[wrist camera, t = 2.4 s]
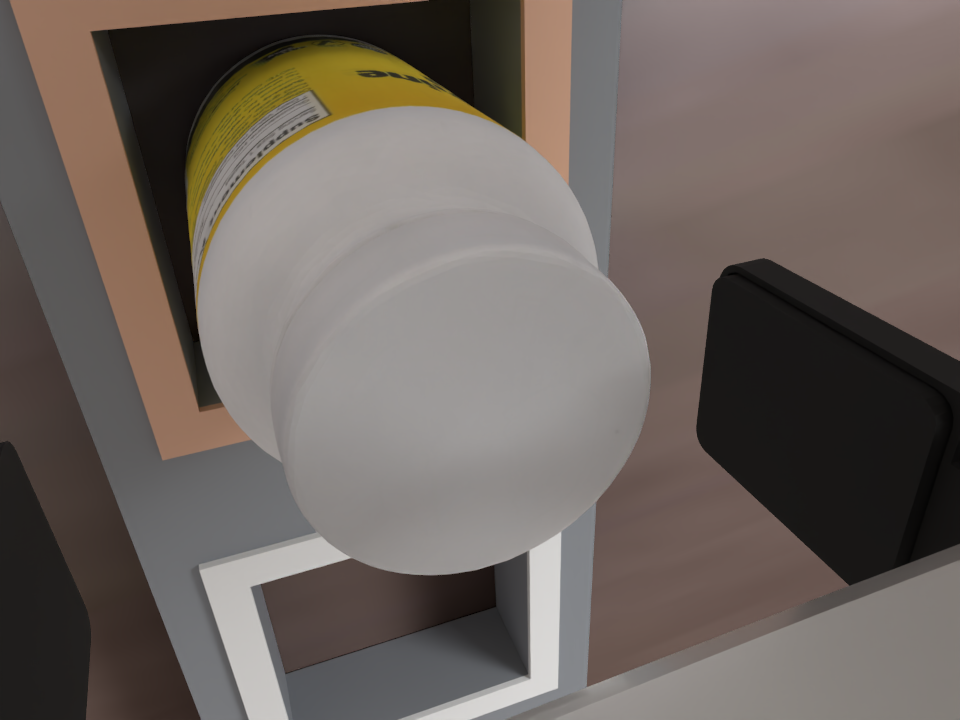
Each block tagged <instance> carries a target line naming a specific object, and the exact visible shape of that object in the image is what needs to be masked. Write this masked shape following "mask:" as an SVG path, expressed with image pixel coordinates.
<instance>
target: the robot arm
mask: <svg viewBox="0 0 960 720" xmlns="http://www.w3.org/2000/svg"><path fill="white" fill-rule="evenodd" d="M696 431H697V437H698V440H699V442H700V444H701V446H702V448H703V449H704V450H705V451H706V452H707V453H708V454H709V455H710V456H711V457H712V458H713V459H714V460H715V461H716V462H717V463H718V464H719V465H721V466H722V467H723V468H724V469H725V470H726V471H727V472H728V473H729V474H730V475H731V476H732V477H733V478H735V479H736V480H737V481H738V482H739V483H740V484H741V485H742V486H743V487H744V488H745V489H746V490H747V491H748V492H750V493H751V494H752V495H753V496H754V497H755V498H756V499H757V500H758V501H759V502H760V503H761V504H762V505H764V506H765V507H766V508H767V509H768V510H769V511H770V512H771V513H772V514H773V515H774V516H775V517H776V518H777V519H779V520H780V521H781V522H782V523H783V524H784V525H785V526H786V527H787V528H788V529H789V530H790V531H791V532H793V533H794V534H795V535H796V536H797V537H798V538H799V539H800V540H801V541H802V542H803V543H804V544H805V545H806V546H808V547H809V548H810V549H811V550H812V551H813V552H814V553H815V554H816V555H817V556H818V557H819V558H820V559H821V560H823V561H824V562H825V563H826V564H827V565H828V566H829V567H830V568H831V569H832V570H833V571H834V572H835V573H837V574H838V575H839V576H840V577H841V578H842V579H843V580H844V581H845V582H846V583H847V584H848V585H849V586H848V587H845V588H843V589H840V590H838V591H835V592H832V593H830V594H827V595H824V596H822V597H819V598H817V599H814V600H811V601H809V602H806V603H803V604H801V605H798V606H796V607H793V608H790V609H788V610H785V611H783V612H780V613H778V614H775V615H772V616H770V617H767V618H765V619H762V620H759V621H757V622H754V623H752V624H749V625H747V626H744V627H741V628H739V629H736V630H734V631H731V632H728V633H726V634H723V635H721V636H718V637H715V638H713V639H710V640H708V641H705V642H703V643H700V644H697V645H695V646H692V647H690V648H687V649H684V650H682V651H679V652H677V653H674V654H672V655H669V656H666V657H664V658H661V659H659V660H656V661H654V662H651V663H648V664H646V665H643V666H641V667H638V668H636V669H633V670H630V671H628V672H625V673H623V674H620V675H618V676H615V677H612V678H610V679H607V680H605V681H602V682H600V683H597V684H594V685H592V686H589V687H587V688H584V689H582V690H579V691H576V692H574V693H571V694H569V695H566V696H564V697H561V698H558V699H556V700H553V701H551V702H548V703H546V704H543V705H541V706H538V707H536V708H533V709H531V710H528V711H525V712H523V713H520V714H518V715H515V716H513V717H510V718H508V719H505V720H960V361H958V360H956V359H954V358H952V357H951V356H949V355H947V354H945V353H943V352H941V351H939V350H937V349H936V348H934V347H932V346H930V345H928V344H926V343H924V342H922V341H921V340H919V339H917V338H915V337H913V336H911V335H909V334H907V333H906V332H904V331H902V330H900V329H898V328H896V327H894V326H892V325H891V324H889V323H887V322H885V321H883V320H881V319H879V318H878V317H876V316H874V315H872V314H870V313H868V312H866V311H864V310H863V309H861V308H859V307H857V306H855V305H853V304H851V303H849V302H848V301H846V300H844V299H842V298H840V297H838V296H836V295H834V294H833V293H831V292H829V291H827V290H825V289H823V288H821V287H819V286H818V285H816V284H814V283H812V282H810V281H808V280H806V279H804V278H803V277H801V276H799V275H797V274H795V273H793V272H791V271H789V270H788V269H786V268H784V267H782V266H780V265H778V264H776V263H775V262H773V261H771V260H768V259H765V258H763V259H757V260H753V261H748V262H744V263H739V264H735V265H731V266H728V267H726V268H725V269H724V270H723V272H722V274H721V275H720V278H719V279H717V280H716V281H715V283H714V285H713V289H712V295H711V304H710V313H709V321H708V330H707V339H706V347H705V356H704V365H703V374H702V382H701V391H700V400H699V408H698V417H697V426H696ZM90 645H91V629H90V622H89V617H88V613H87V610H86V607H85V604H84V602H83V600H82V598H81V595H80V593H79V591H78V589H77V586H76V584H75V582H74V580H73V577H72V575H71V573H70V571H69V568H68V566H67V564H66V562H65V559H64V557H63V555H62V553H61V551H60V548H59V546H58V544H57V542H56V539H55V537H54V535H53V533H52V530H51V528H50V526H49V524H48V521H47V519H46V517H45V515H44V512H43V510H42V508H41V506H40V503H39V501H38V499H37V497H36V494H35V492H34V490H33V488H32V485H31V483H30V481H29V479H28V477H27V474H26V472H25V470H24V468H23V465H22V463H21V461H20V459H19V456H18V454H17V452H16V450H15V448H14V447H13V445H12V444H11V443H10V442H8V441H6V442H2V443H0V720H86V707H87V692H88V676H89V661H90Z"/></svg>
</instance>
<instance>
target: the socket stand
mask: <svg viewBox="0 0 960 720" xmlns="http://www.w3.org/2000/svg"><path fill="white" fill-rule="evenodd" d="M416 1H427V0H0V201H1V204H2V207H3V209H4V212H5V214H6V217H7V220H8V222H9V225H10V227H11V230H12V232H13V235H14V238H15V240H16V243H17V245H18V248H19V251H20V253H21V256H22V258H23V261H24V263H25V266H26V269H27V271H28V274H29V276H30V279H31V281H32V284H33V287H34V289H35V292H36V294H37V297H38V300H39V302H40V305H41V307H42V310H43V312H44V315H45V318H46V320H47V323H48V325H49V328H50V331H51V333H52V336H53V338H54V341H55V343H56V346H57V349H58V351H59V354H60V356H61V359H62V362H63V364H64V367H65V369H66V372H67V374H68V377H69V380H70V382H71V385H72V387H73V390H74V393H75V395H76V398H77V400H78V403H79V405H80V408H81V411H82V413H83V416H84V418H85V421H86V424H87V426H88V429H89V431H90V434H91V436H92V439H93V442H94V444H95V447H96V449H97V452H98V455H99V457H100V460H101V462H102V465H103V467H104V470H105V473H106V475H107V478H108V480H109V483H110V485H111V488H112V491H113V493H114V496H115V498H116V501H117V504H118V506H119V509H120V511H121V514H122V516H123V519H124V522H125V524H126V527H127V529H128V532H129V535H130V537H131V540H132V542H133V545H134V547H135V550H136V553H137V555H138V558H139V560H140V563H141V566H142V568H143V571H144V573H145V576H146V578H147V581H148V584H149V586H150V589H151V591H152V594H153V597H154V599H155V602H156V604H157V607H158V609H159V612H160V615H161V617H162V620H163V622H164V625H165V628H166V630H167V633H168V635H169V638H170V640H171V643H172V646H173V648H174V651H175V653H176V656H177V658H178V661H179V664H180V666H181V669H182V671H183V674H184V677H185V679H186V682H187V684H188V687H189V689H190V692H191V695H192V697H193V700H194V702H195V705H196V708H197V710H198V713H199V715H200V718H201V720H505V719H508V718H510V717H513V716H515V715H518V714H520V713H523V712H525V711H528V710H531V709H533V708H536V707H538V706H541V705H543V704H546V703H548V702H551V701H553V700H556V699H558V698H561V697H564V696H566V695H569V694H571V693H574V692H576V691H579V690H582V689H584V688H586V686H587V667H588V648H589V629H590V610H591V590H592V571H593V552H594V533H595V514H596V502H595V503H594V504H593V505H592V506H591V507H590V508H589V509H588V510H587V511H585V512H584V513H583V514H582V515H581V516H580V517H579V518H578V519H577V520H575V521H574V522H573V523H572V524H571V525H569V526H568V527H567V528H565V529H564V530H562V531H561V532H560V533H558V534H557V535H555V536H554V537H552V538H550V539H549V540H547V541H545V542H544V543H542V544H540V545H539V546H537V547H535V548H533V549H531V550H529V551H527V552H525V553H523V554H521V555H518V556H516V557H514V558H512V559H510V560H507V561H504V562H501V563H498V564H495V565H494V568H495V591H496V607H494V608H491V609H488V610H485V611H482V612H479V613H475V614H472V615H469V616H466V617H463V618H460V619H457V620H454V621H450V622H447V623H444V624H441V625H438V626H435V627H432V628H428V629H425V630H422V631H419V632H416V633H413V634H410V635H407V636H403V637H400V638H397V639H394V640H391V641H388V642H385V643H381V644H378V645H375V646H372V647H369V648H366V649H363V650H360V651H356V652H353V653H350V654H347V655H344V656H341V657H338V658H334V659H331V660H328V661H325V662H322V663H319V664H316V665H313V666H309V667H306V668H303V669H300V670H297V671H294V672H291V673H287V674H285V671H284V668H283V664H282V660H281V657H280V653H279V650H278V646H277V642H276V639H275V635H274V631H273V628H272V624H271V621H270V617H269V613H268V610H267V606H266V602H265V599H264V595H263V592H262V588H261V584H262V583H266V582H269V581H273V580H276V579H280V578H283V577H287V576H290V575H294V574H297V573H301V572H304V571H308V570H311V569H315V568H318V567H322V566H325V565H329V564H332V563H336V562H339V561H343V560H346V559H350V558H352V557H350V556H348V555H346V554H344V553H343V552H341V551H339V550H338V549H337V548H335V547H334V546H332V545H331V544H329V543H328V542H327V541H326V540H325V539H324V538H323V537H322V536H320V535H319V534H318V533H317V532H316V531H315V529H314V528H313V527H312V526H311V524H310V523H309V522H308V521H307V519H306V518H305V517H304V515H303V514H302V512H301V510H300V509H299V507H298V505H297V504H296V502H295V500H294V498H293V496H292V493H291V491H290V488H289V485H288V482H287V479H286V475H285V472H284V468H283V464H282V463H281V462H280V461H278V460H277V459H275V458H274V457H272V456H271V455H269V454H268V453H266V452H265V451H264V450H263V449H261V448H260V447H259V446H258V445H257V444H256V443H255V442H254V441H253V440H251V439H250V438H249V437H248V436H247V434H246V433H245V432H244V431H243V430H242V429H241V428H240V427H239V426H238V424H237V423H236V422H235V421H234V419H233V418H232V417H231V416H230V414H229V413H228V411H227V409H226V408H225V406H224V404H223V403H222V401H221V399H220V397H219V396H218V394H217V392H216V390H215V388H214V386H213V384H212V381H211V378H210V375H209V373H208V370H207V367H206V363H205V360H204V356H203V352H202V347H201V342H200V341H198V342H193V338H192V335H191V331H190V328H189V324H188V320H187V317H186V313H185V310H184V306H183V302H182V299H181V295H180V291H179V288H178V284H177V281H176V277H175V273H174V270H173V266H172V263H171V259H170V255H169V252H168V248H167V244H166V241H165V237H164V234H163V230H162V226H161V223H160V219H159V215H158V212H157V208H156V205H155V201H154V197H153V194H152V190H151V187H150V183H149V179H148V176H147V172H146V168H145V165H144V161H143V158H142V154H141V150H140V147H139V143H138V140H137V136H136V132H135V129H134V125H133V121H132V118H131V114H130V111H129V107H128V103H127V100H126V96H125V93H124V89H123V85H122V82H121V78H120V74H119V71H118V67H117V64H116V60H115V56H114V53H113V49H112V45H111V42H110V38H109V35H108V31H107V30H110V29H121V28H132V27H143V26H153V25H164V24H175V23H186V22H197V21H208V20H219V19H230V18H241V17H252V16H263V15H274V14H285V13H296V12H307V11H317V10H328V9H339V8H350V7H361V6H372V5H383V4H394V3H405V2H416ZM621 15H622V0H470V19H471V42H472V65H473V88H474V108H475V109H476V110H478V111H480V112H481V113H483V114H484V115H486V116H488V117H489V118H491V119H492V120H494V121H496V122H497V123H499V124H500V125H502V126H503V127H505V128H507V129H508V130H510V131H511V132H513V133H514V134H516V135H517V136H519V137H520V138H522V139H523V140H524V141H525V142H527V143H528V144H529V145H530V146H532V147H533V148H534V149H535V150H537V151H538V152H539V153H540V154H541V155H542V156H543V157H544V158H545V159H546V160H548V161H549V162H550V164H551V165H552V166H553V167H554V168H555V169H556V170H557V172H558V173H559V174H560V175H561V176H562V178H563V179H564V180H565V182H566V183H567V185H568V186H569V187H570V189H571V190H572V192H573V194H574V195H575V197H576V199H577V201H578V202H579V205H580V207H581V209H582V211H583V213H584V215H585V217H586V220H587V222H588V225H589V228H590V231H591V234H592V238H593V241H594V245H595V249H596V255H597V262H598V269H599V271H600V272H602V273H603V274H604V275H605V276H606V277H607V278H608V264H609V245H610V226H611V207H612V188H613V169H614V149H615V130H616V111H617V92H618V73H619V54H620V34H621Z"/></svg>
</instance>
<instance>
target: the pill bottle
mask: <svg viewBox="0 0 960 720" xmlns="http://www.w3.org/2000/svg"><path fill="white" fill-rule="evenodd" d="M185 191H186V207H187V217H188V224H189V238H190V244H191V261H192V268H193V279H194V288H195V304H196V316H197V324H198V332H199V337H200V342H201V347H202V352H203V356H204V360H205V363H206V367H207V370H208V373H209V375H210V378H211V381H212V384H213V386H214V388H215V390H216V392H217V394H218V396H219V397H220V399H221V401H222V403H223V404H224V406H225V408H226V409H227V411H228V413H229V414H230V416H231V417H232V418H233V419H234V421H235V422H236V423H237V424H238V426H239V427H240V428H241V429H242V430H243V431H244V432H245V433H246V434H247V436H248V437H249V438H250V439H251V440H253V441H254V442H255V443H256V444H257V445H258V446H259V447H260V448H261V449H263V450H264V451H265V452H266V453H268V454H269V455H271V456H272V457H274V458H275V459H277V460H278V461H280V462H281V463H282V464H283V468H284V472H285V475H286V479H287V482H288V485H289V488H290V491H291V493H292V496H293V498H294V500H295V502H296V504H297V505H298V507H299V509H300V510H301V512H302V514H303V515H304V517H305V518H306V519H307V521H308V522H309V523H310V524H311V526H312V527H313V528H314V529H315V531H316V532H317V533H318V534H319V535H320V536H322V537H323V538H324V539H325V540H326V541H327V542H328V543H329V544H331V545H332V546H334V547H335V548H337V549H338V550H339V551H341V552H343V553H344V554H346V555H348V556H350V557H352V558H354V559H356V560H358V561H360V562H362V563H365V564H367V565H369V566H372V567H376V568H379V569H383V570H386V571H391V572H397V573H403V574H412V575H445V574H455V573H461V572H467V571H473V570H478V569H482V568H485V567H488V566H491V565H495V564H498V563H501V562H504V561H507V560H510V559H512V558H514V557H516V556H518V555H521V554H523V553H525V552H527V551H529V550H531V549H533V548H535V547H537V546H539V545H540V544H542V543H544V542H545V541H547V540H549V539H550V538H552V537H554V536H555V535H557V534H558V533H560V532H561V531H562V530H564V529H565V528H567V527H568V526H569V525H571V524H572V523H573V522H574V521H575V520H577V519H578V518H579V517H580V516H581V515H582V514H583V513H584V512H585V511H587V510H588V509H589V508H590V507H591V506H592V505H593V504H594V503H595V502H596V501H597V500H598V498H599V497H600V496H601V495H602V494H603V493H604V492H605V491H606V489H607V488H608V487H609V486H610V485H611V483H612V482H613V480H614V479H615V477H616V476H617V475H618V473H619V472H620V470H621V469H622V467H623V466H624V464H625V463H626V461H627V459H628V457H629V456H630V454H631V452H632V450H633V448H634V446H635V444H636V442H637V440H638V437H639V435H640V432H641V429H642V426H643V423H644V420H645V416H646V412H647V408H648V402H649V395H650V386H651V365H650V359H649V353H648V346H647V342H646V339H645V335H644V332H643V329H642V327H641V324H640V322H639V320H638V318H637V316H636V314H635V312H634V311H633V309H632V307H631V306H630V304H629V303H628V302H627V300H626V299H625V297H624V296H623V294H622V293H621V292H620V291H619V290H618V289H617V287H616V286H615V285H614V284H613V283H612V282H611V281H610V280H609V279H608V278H607V277H606V276H605V275H604V274H603V273H602V272H600V271H599V269H598V262H597V255H596V249H595V245H594V241H593V238H592V234H591V231H590V228H589V225H588V222H587V220H586V217H585V215H584V213H583V211H582V209H581V207H580V205H579V202H578V201H577V199H576V197H575V195H574V194H573V192H572V190H571V189H570V187H569V186H568V185H567V183H566V182H565V180H564V179H563V178H562V176H561V175H560V174H559V173H558V172H557V170H556V169H555V168H554V167H553V166H552V165H551V164H550V162H549V161H548V160H546V159H545V158H544V157H543V156H542V155H541V154H540V153H539V152H538V151H537V150H535V149H534V148H533V147H532V146H530V145H529V144H528V143H527V142H525V141H524V140H523V139H522V138H520V137H519V136H517V135H516V134H514V133H513V132H511V131H510V130H508V129H507V128H505V127H503V126H502V125H500V124H499V123H497V122H496V121H494V120H492V119H491V118H489V117H488V116H486V115H484V114H483V113H481V112H480V111H478V110H476V109H475V108H473V107H472V106H470V105H469V104H467V103H466V102H465V101H463V100H462V99H460V98H459V97H457V96H456V95H454V94H453V93H451V92H450V91H449V90H447V89H446V88H444V87H443V86H441V85H439V84H438V83H436V82H435V81H433V80H431V79H430V78H429V77H427V76H425V75H424V74H422V73H421V72H420V71H418V70H416V69H415V68H413V67H412V66H410V65H409V64H407V63H406V62H404V61H402V60H401V59H399V58H398V57H396V56H394V55H392V54H391V53H389V52H387V51H385V50H383V49H381V48H379V47H376V46H374V45H372V44H369V43H367V42H364V41H360V40H357V39H353V38H348V37H343V36H337V35H304V36H297V37H292V38H288V39H284V40H281V41H278V42H274V43H272V44H269V45H267V46H265V47H263V48H261V49H259V50H257V51H255V52H253V53H252V54H250V55H248V56H247V57H245V58H243V59H242V60H240V61H239V62H238V63H237V64H235V65H234V66H233V67H232V68H231V69H230V70H228V71H227V72H226V73H225V74H224V75H223V76H222V77H221V78H220V79H219V80H218V81H217V82H216V84H215V85H214V86H213V87H212V89H211V90H210V92H209V93H208V94H207V96H206V97H205V99H204V101H203V102H202V104H201V106H200V108H199V110H198V112H197V114H196V117H195V119H194V122H193V125H192V128H191V131H190V134H189V138H188V143H187V149H186V160H185Z"/></svg>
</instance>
